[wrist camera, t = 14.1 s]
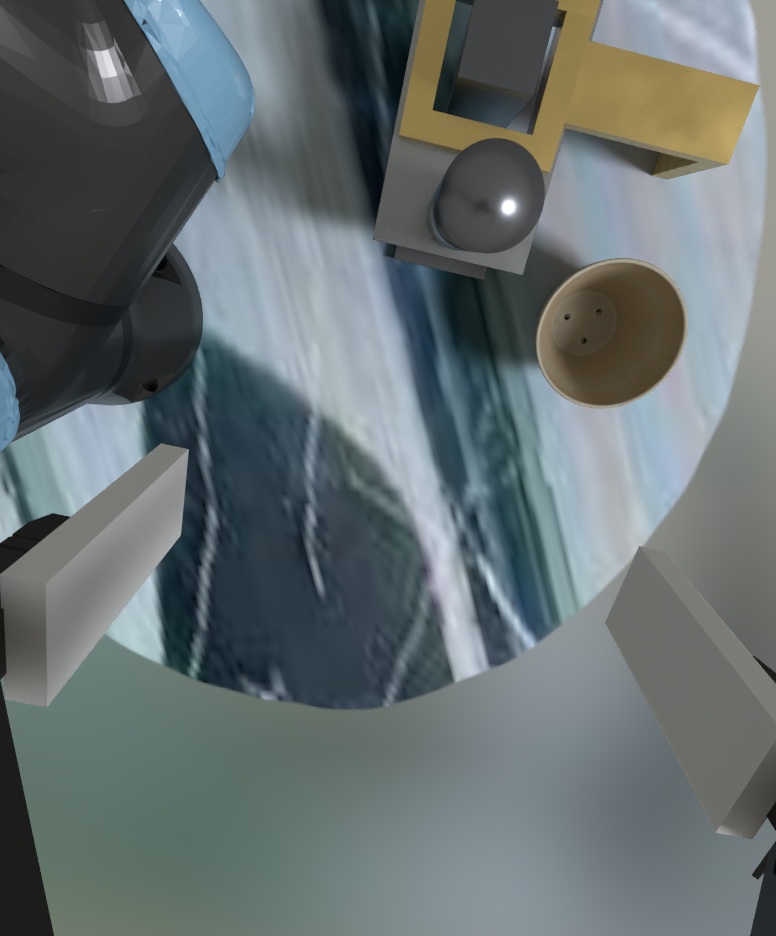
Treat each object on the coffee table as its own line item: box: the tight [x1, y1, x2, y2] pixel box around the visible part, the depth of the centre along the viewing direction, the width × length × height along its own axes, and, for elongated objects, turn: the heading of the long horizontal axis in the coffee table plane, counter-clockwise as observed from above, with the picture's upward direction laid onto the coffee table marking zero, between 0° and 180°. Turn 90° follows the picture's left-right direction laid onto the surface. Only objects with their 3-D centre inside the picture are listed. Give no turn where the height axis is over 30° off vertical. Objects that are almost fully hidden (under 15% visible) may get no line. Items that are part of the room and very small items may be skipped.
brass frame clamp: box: [373, 0, 760, 280], centre depth 30 cm, size 20×16×22 cm
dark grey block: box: [446, 0, 559, 129], centre depth 33 cm, size 4×4×12 cm
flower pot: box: [535, 258, 688, 408], centre depth 41 cm, size 10×10×7 cm
